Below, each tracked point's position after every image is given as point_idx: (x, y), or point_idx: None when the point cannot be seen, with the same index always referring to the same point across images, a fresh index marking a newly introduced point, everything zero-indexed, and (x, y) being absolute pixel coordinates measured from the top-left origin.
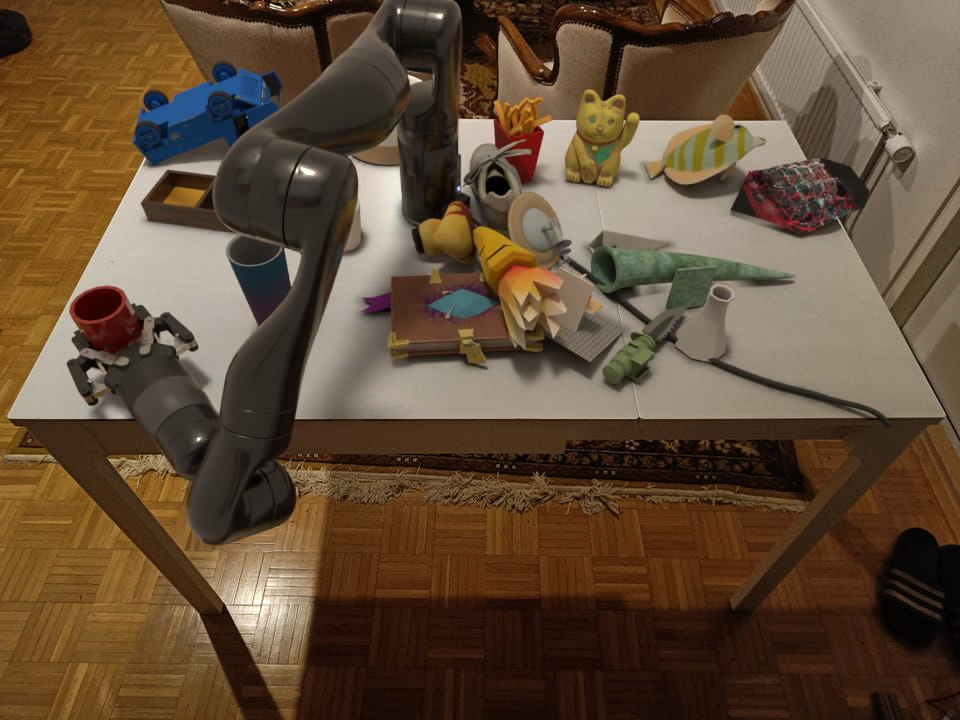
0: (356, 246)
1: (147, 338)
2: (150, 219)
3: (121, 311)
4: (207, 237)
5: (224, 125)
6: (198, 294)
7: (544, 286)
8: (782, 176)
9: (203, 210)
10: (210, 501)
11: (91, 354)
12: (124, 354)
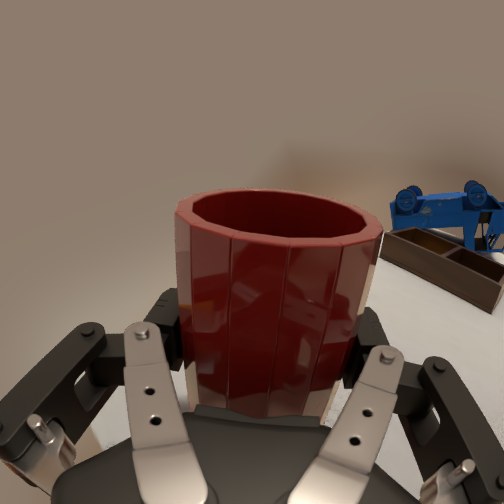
0: None
1: (363, 434)
2: (382, 255)
3: (346, 251)
4: (440, 294)
5: (470, 216)
6: (422, 357)
7: None
8: None
9: (451, 261)
10: None
11: (141, 351)
12: (223, 440)
